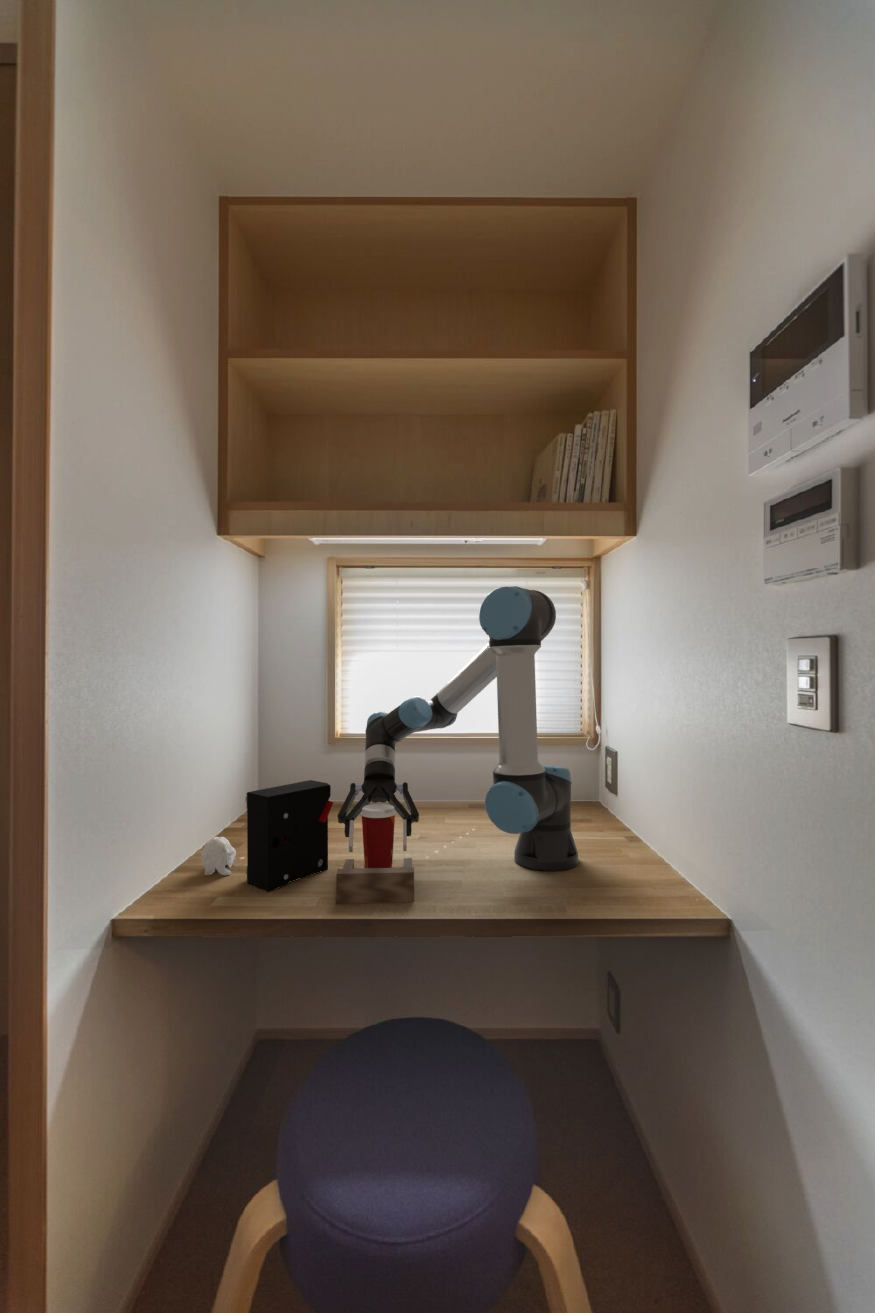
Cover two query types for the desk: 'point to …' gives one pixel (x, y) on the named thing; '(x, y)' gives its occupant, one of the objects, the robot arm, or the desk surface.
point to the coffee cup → (378, 835)
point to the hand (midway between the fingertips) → (377, 848)
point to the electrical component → (287, 833)
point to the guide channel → (375, 884)
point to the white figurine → (218, 856)
